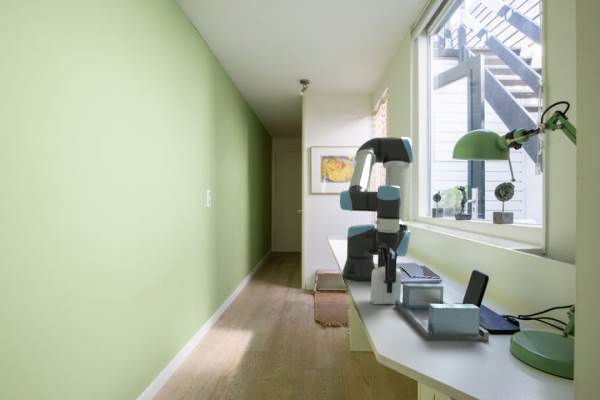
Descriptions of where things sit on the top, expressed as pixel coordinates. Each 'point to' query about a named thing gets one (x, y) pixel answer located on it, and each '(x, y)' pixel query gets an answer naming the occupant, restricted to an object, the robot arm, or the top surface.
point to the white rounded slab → (378, 286)
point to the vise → (446, 321)
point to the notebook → (428, 272)
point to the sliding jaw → (422, 295)
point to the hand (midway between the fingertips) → (385, 299)
